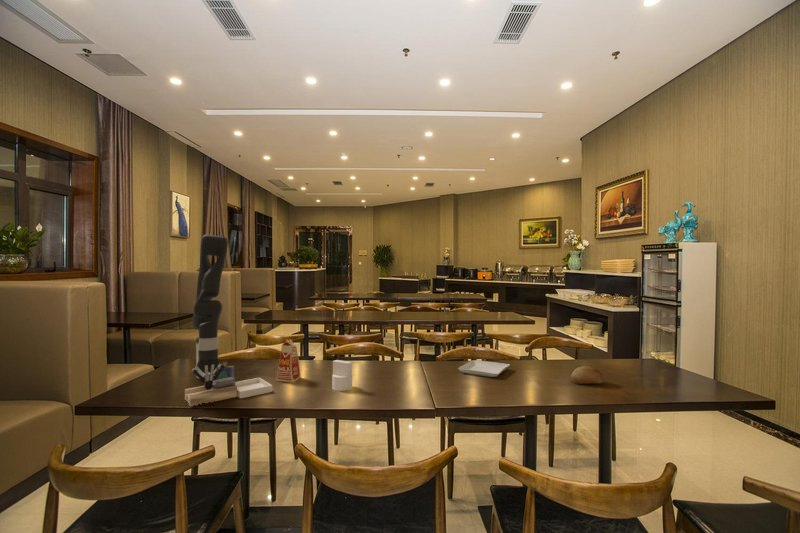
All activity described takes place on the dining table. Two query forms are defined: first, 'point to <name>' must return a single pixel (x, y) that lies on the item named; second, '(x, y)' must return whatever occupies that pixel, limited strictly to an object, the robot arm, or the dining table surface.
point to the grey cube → (219, 384)
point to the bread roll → (586, 375)
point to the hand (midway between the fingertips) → (208, 389)
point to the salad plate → (483, 368)
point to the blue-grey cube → (229, 381)
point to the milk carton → (288, 363)
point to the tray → (252, 387)
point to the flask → (226, 372)
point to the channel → (208, 394)
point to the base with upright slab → (342, 375)
